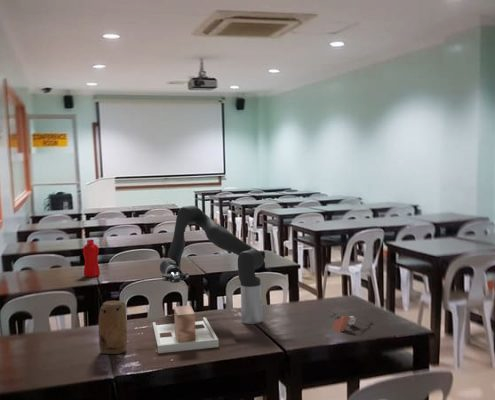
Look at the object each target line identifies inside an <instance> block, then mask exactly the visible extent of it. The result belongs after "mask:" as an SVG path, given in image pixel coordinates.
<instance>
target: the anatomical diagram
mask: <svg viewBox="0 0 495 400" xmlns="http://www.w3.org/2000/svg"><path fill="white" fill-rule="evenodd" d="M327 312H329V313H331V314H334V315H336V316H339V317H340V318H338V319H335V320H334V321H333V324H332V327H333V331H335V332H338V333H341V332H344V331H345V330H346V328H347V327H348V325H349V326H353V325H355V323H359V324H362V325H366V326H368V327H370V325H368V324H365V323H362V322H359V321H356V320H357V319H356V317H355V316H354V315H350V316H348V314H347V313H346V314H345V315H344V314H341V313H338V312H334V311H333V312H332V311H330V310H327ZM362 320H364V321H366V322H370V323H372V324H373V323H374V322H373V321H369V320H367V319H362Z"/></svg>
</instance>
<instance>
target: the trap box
mask: <svg viewBox="0 0 495 400" xmlns="http://www.w3.org/2000/svg"><path fill="white" fill-rule="evenodd" d="M198 325H203V326H204V327H202V328H201V327H200V328H195V334H196V341H190V342H180V343H178V342H177V339H176V336H175V323H167V324H166V323H165V324H156V321H155V322H154V321H153V322H152V328H153V334H154V339H155V343H156V349H157V354H164V353H165V354H166V353H175V352H185V351H194V350H201V349H202V350H203V349H210V348H211V349H212V348H219V338H218V336H217V335H216V333H215V331H214V329H213V328H212V326H211V325H210V323H209V321H208V319H207V317H202V320H197V321H196V320H195V326H198ZM168 333H170V334H171V336H164V337H161V334H168Z"/></svg>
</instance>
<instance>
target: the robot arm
mask: <svg viewBox="0 0 495 400" xmlns="http://www.w3.org/2000/svg"><path fill="white" fill-rule="evenodd" d="M188 225H196V226H197V227H199V228H201V229H202V230H203V231H204V234H205V236H206V238H207V240H208V241H209V242H210V243H212V244H213V245H214V246H215V247H218V248H219V249H221V250H223V251H226V252H229V253H233V254H235V255H237V256H238V257H237V271H238V272H237V273H238V274H237V275H238V279H239V282H240V306H241V307H240V308H241V309H240V310H241V311H240V312H241V316H240V317H241V323H242V324H247V325H253V324H259V323H263V320H264V319H263V301H262V296H261V295H262V294H261V293H262V291H261V278H260V277H258V276H256V271H255V269H257V268H259V267H261V266H262V265H263V263H264V262H265V258H263V256H262V254H261V253H260V252H259V251H260V250H258V249H257V248H255V247H253V246H251V245H250V244H248V243H246V242H245V241H243V240H241V239H240V238H239V237H237V236H236V235H234V233H232V232H230V230H228V229H227V228H225V227H224V226H223V225H220V224H219V223H217V222H216V221H215V220H213V219H212V218H211V217H209V216H208V214H206V213H205V212H204V211H203V210H202V209H201V208H199V207H198V206H196V205H185V206H181V207H180V208H179V209H178V211H177V215H176V219H175V225H174V232H173V237H172V240H171V243H170V247H169V249H168V252H167V257H168V258H169V259H170V260H169V259H164V260H162V261H161V262H160V264H159V270H160V273H161V274H162V275H161V276H162V278H161V279H162V281H163V282H170V283H171V284H172V283H173V284H175V283H176V284H177V283H180V282H181V281H185V280H187V279H189V273H188V272H185V273H183V272H182V270H181V260H182V256H183V253H184V250H185V248H186V247H185V246H186V241H185V239H186V238H185V230H186V229H187V227H188Z"/></svg>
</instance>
